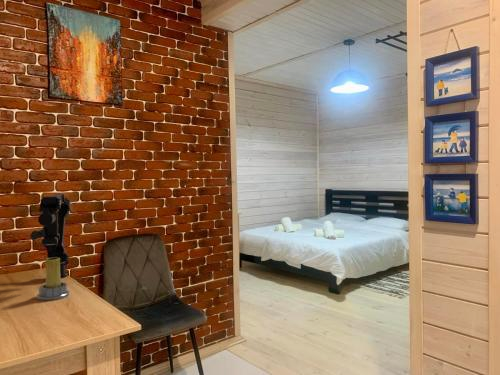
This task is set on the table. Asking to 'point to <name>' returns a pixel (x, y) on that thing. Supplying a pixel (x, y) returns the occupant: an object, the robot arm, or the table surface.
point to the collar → (52, 292)
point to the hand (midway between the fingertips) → (51, 257)
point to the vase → (53, 272)
